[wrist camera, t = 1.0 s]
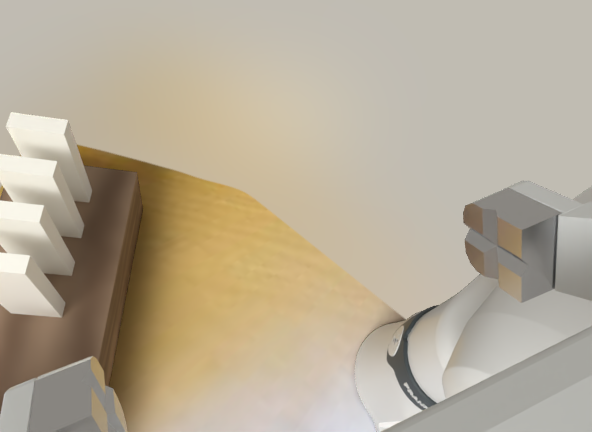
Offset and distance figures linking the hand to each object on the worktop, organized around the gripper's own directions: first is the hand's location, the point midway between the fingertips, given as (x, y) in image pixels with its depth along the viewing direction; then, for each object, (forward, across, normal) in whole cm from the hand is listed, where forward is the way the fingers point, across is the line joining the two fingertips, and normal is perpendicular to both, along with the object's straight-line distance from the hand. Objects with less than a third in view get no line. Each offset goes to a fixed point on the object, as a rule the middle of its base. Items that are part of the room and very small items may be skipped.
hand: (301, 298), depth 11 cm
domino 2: (+50, -14, -17) cm, 54 cm away
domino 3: (+46, -16, -19) cm, 53 cm away
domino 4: (+43, -18, -22) cm, 51 cm away
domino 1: (+53, -12, -14) cm, 56 cm away
